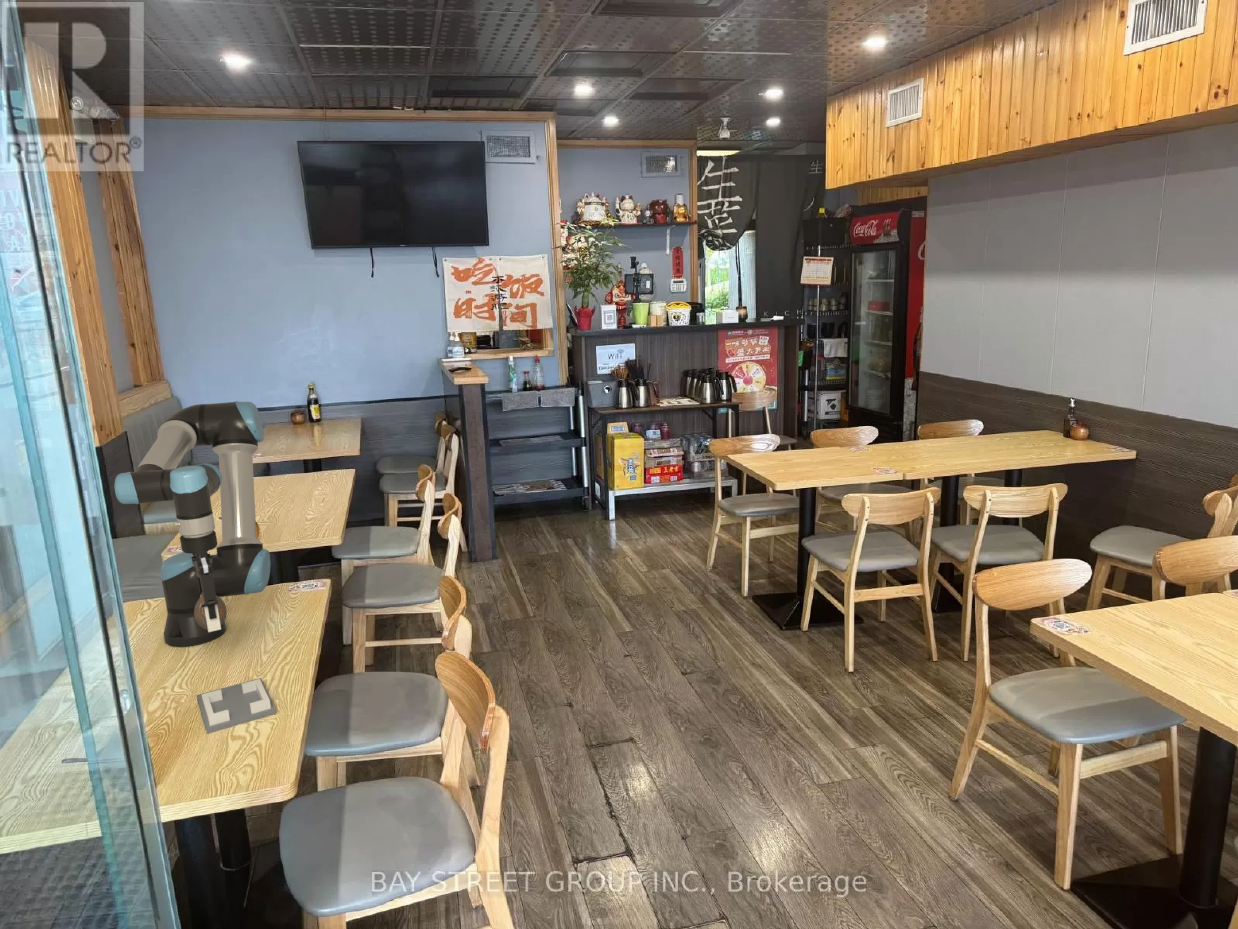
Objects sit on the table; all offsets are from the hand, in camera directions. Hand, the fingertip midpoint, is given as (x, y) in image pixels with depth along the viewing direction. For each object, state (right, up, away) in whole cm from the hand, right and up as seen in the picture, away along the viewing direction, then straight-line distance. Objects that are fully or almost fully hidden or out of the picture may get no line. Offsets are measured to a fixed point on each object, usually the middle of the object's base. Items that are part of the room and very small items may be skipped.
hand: (212, 624), depth 198 cm
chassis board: (+10, -17, -10) cm, 22 cm away
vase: (0, -1, 0) cm, 1 cm away
